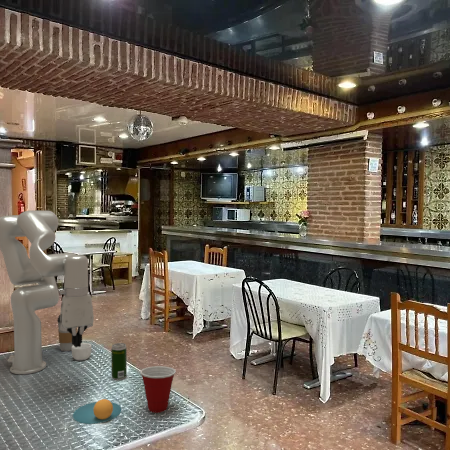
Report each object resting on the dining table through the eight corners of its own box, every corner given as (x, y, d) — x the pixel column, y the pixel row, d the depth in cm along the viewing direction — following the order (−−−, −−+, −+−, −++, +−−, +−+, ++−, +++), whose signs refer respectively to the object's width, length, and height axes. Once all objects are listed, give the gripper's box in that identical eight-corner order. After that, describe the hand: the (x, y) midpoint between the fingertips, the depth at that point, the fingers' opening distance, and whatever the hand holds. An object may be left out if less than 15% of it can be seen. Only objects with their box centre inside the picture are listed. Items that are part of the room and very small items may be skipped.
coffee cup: (60, 346, 192) (60, 313, 192) (80, 345, 193) (79, 312, 193) (55, 352, 184) (54, 317, 184) (75, 352, 185) (74, 317, 184)
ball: (91, 406, 123) (89, 421, 125) (110, 411, 123) (107, 425, 125) (98, 393, 128) (96, 406, 130) (116, 397, 128) (114, 411, 130)
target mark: (62, 420, 125) (62, 419, 125) (90, 399, 139) (90, 399, 139) (105, 426, 121) (105, 426, 121) (129, 405, 135) (129, 404, 135)
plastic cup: (181, 403, 136) (181, 366, 136) (166, 419, 126) (166, 378, 125) (151, 398, 140) (151, 361, 139) (133, 413, 129) (133, 374, 129)
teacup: (94, 358, 177) (94, 345, 176) (76, 363, 171) (76, 350, 171) (83, 353, 184) (83, 340, 184) (66, 357, 179) (66, 344, 178)
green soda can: (129, 378, 156) (129, 345, 156) (115, 381, 153) (115, 348, 153) (122, 373, 161) (122, 341, 160) (109, 377, 157) (108, 344, 157)
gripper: (56, 296, 138) (57, 353, 138) (102, 291, 146) (102, 344, 147) (50, 292, 144) (51, 347, 144) (94, 288, 152) (95, 339, 153)
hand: (77, 345), depth 146 cm, fingers closed
